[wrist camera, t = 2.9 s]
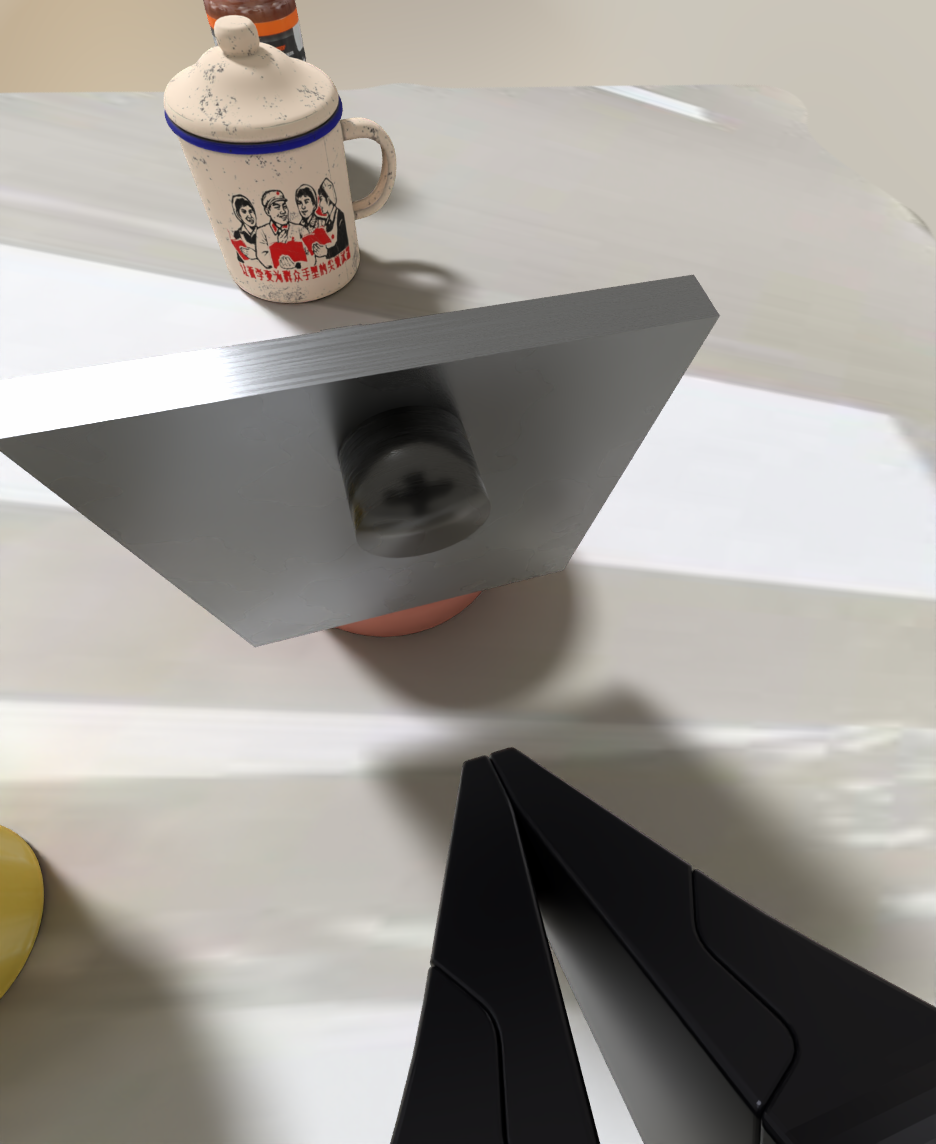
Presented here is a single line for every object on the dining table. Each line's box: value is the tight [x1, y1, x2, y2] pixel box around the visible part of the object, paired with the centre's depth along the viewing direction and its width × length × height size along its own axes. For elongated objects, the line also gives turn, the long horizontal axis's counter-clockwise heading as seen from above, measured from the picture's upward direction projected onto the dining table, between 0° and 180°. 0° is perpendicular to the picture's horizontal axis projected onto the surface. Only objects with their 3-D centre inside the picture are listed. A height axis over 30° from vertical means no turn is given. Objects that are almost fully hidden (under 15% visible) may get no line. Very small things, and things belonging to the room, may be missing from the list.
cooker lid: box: [0, 275, 720, 647], centre depth 13 cm, size 11×11×3 cm
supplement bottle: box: [203, 0, 306, 62], centre depth 36 cm, size 6×6×11 cm
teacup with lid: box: [164, 15, 396, 303], centre depth 30 cm, size 12×9×12 cm
